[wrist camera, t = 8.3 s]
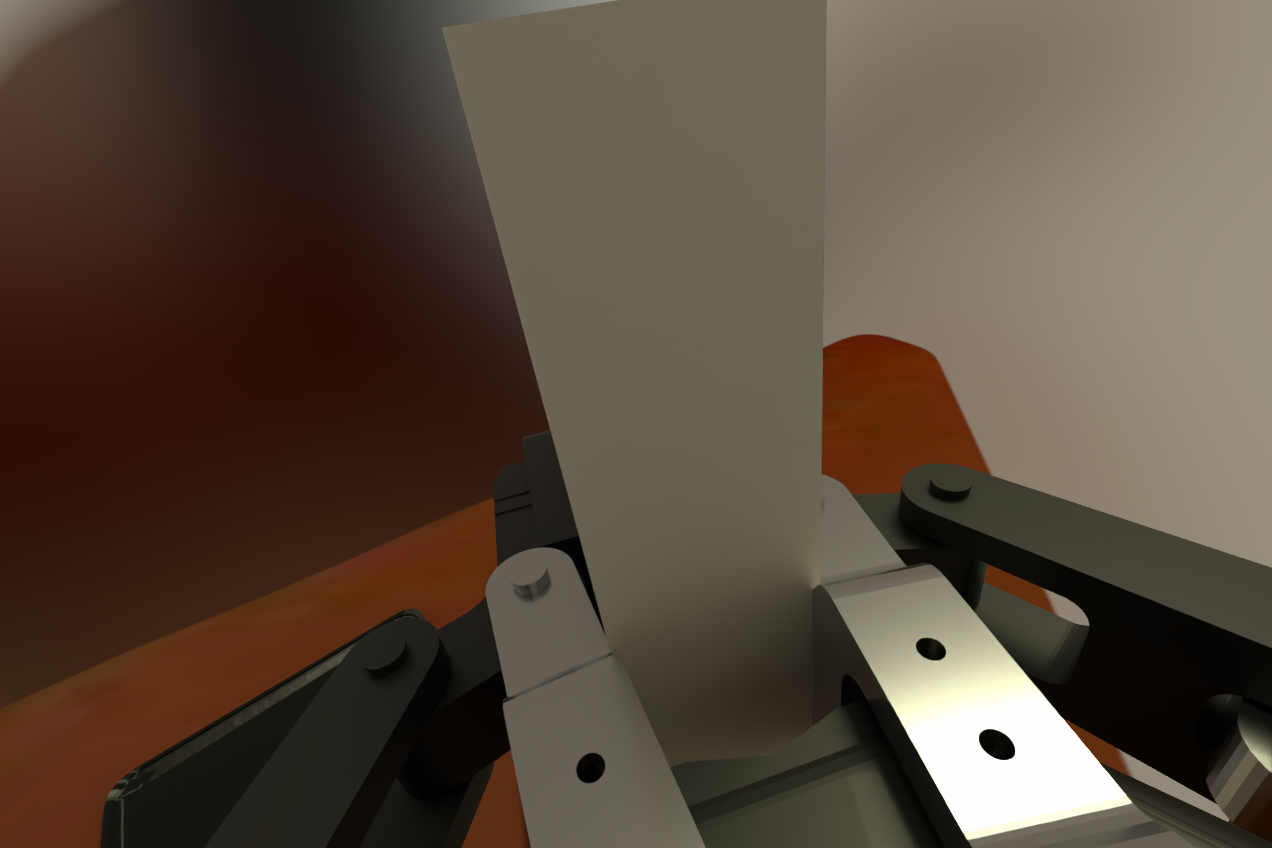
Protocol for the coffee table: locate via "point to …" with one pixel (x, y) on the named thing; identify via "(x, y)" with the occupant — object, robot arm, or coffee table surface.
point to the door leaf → (674, 329)
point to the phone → (213, 765)
